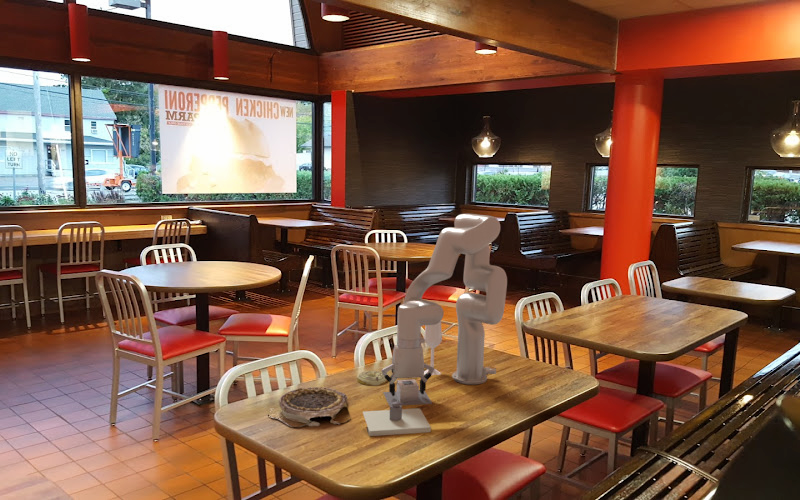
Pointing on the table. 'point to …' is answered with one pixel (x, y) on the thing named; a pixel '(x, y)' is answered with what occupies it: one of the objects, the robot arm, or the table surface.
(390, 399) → the rod stand
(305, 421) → the pie
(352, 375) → the table surface
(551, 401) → the table surface
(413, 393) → the collar
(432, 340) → the champagne flute
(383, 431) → the hub plate
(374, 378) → the decorated donut
